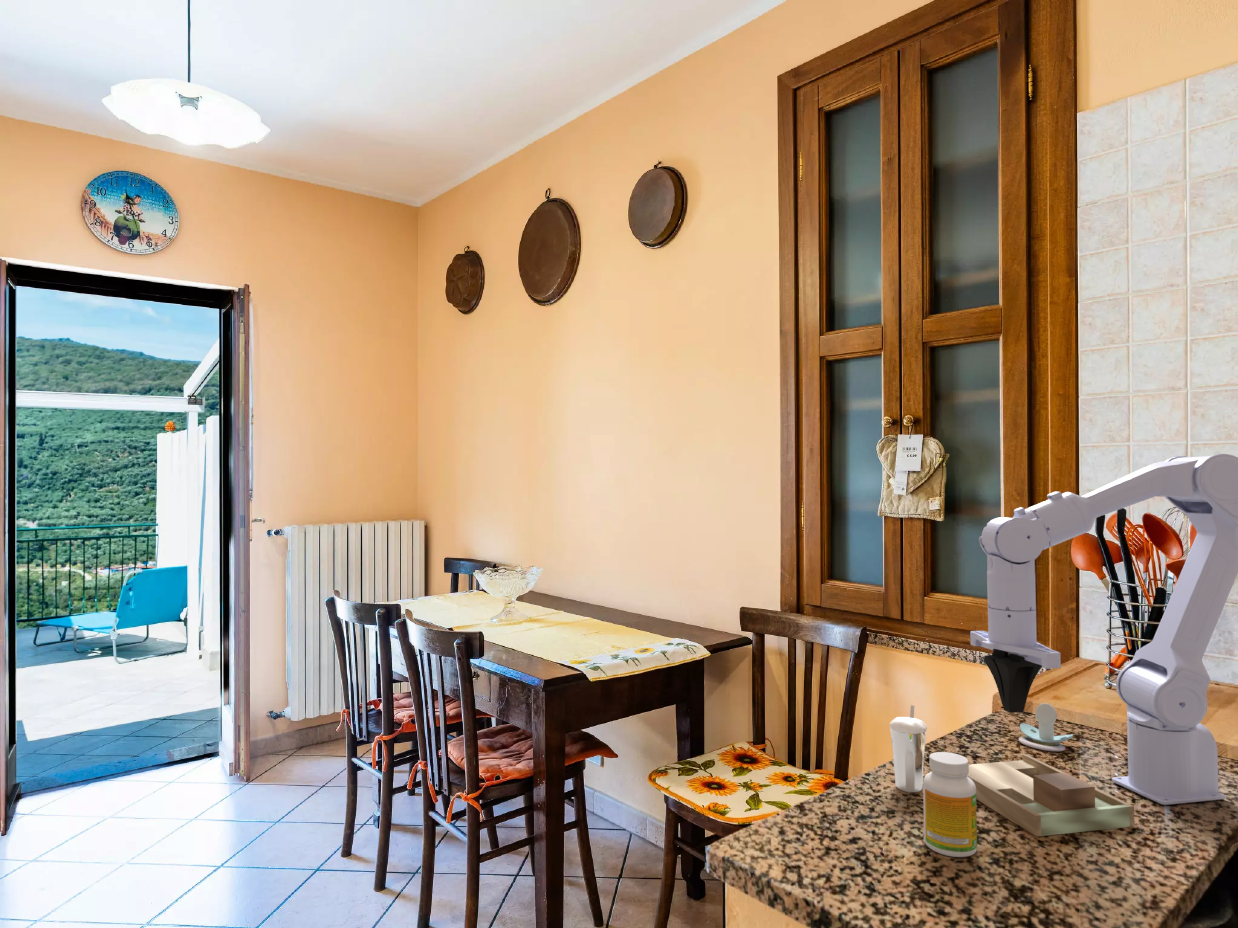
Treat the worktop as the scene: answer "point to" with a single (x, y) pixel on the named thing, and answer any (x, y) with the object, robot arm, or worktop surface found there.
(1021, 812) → the tray
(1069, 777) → the walnut block
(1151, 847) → the worktop surface
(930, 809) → the supplement bottle
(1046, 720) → the pacifier
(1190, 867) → the worktop surface
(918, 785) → the milkshake
